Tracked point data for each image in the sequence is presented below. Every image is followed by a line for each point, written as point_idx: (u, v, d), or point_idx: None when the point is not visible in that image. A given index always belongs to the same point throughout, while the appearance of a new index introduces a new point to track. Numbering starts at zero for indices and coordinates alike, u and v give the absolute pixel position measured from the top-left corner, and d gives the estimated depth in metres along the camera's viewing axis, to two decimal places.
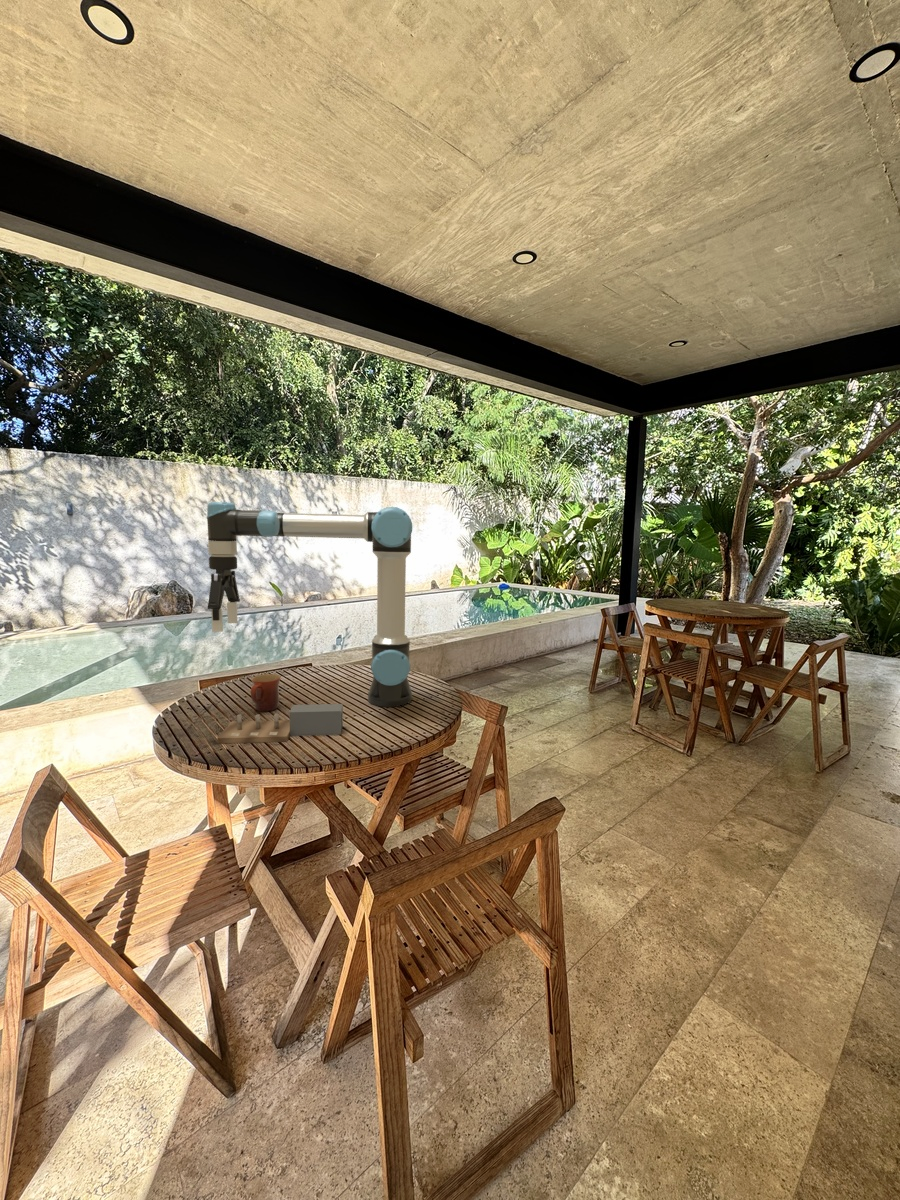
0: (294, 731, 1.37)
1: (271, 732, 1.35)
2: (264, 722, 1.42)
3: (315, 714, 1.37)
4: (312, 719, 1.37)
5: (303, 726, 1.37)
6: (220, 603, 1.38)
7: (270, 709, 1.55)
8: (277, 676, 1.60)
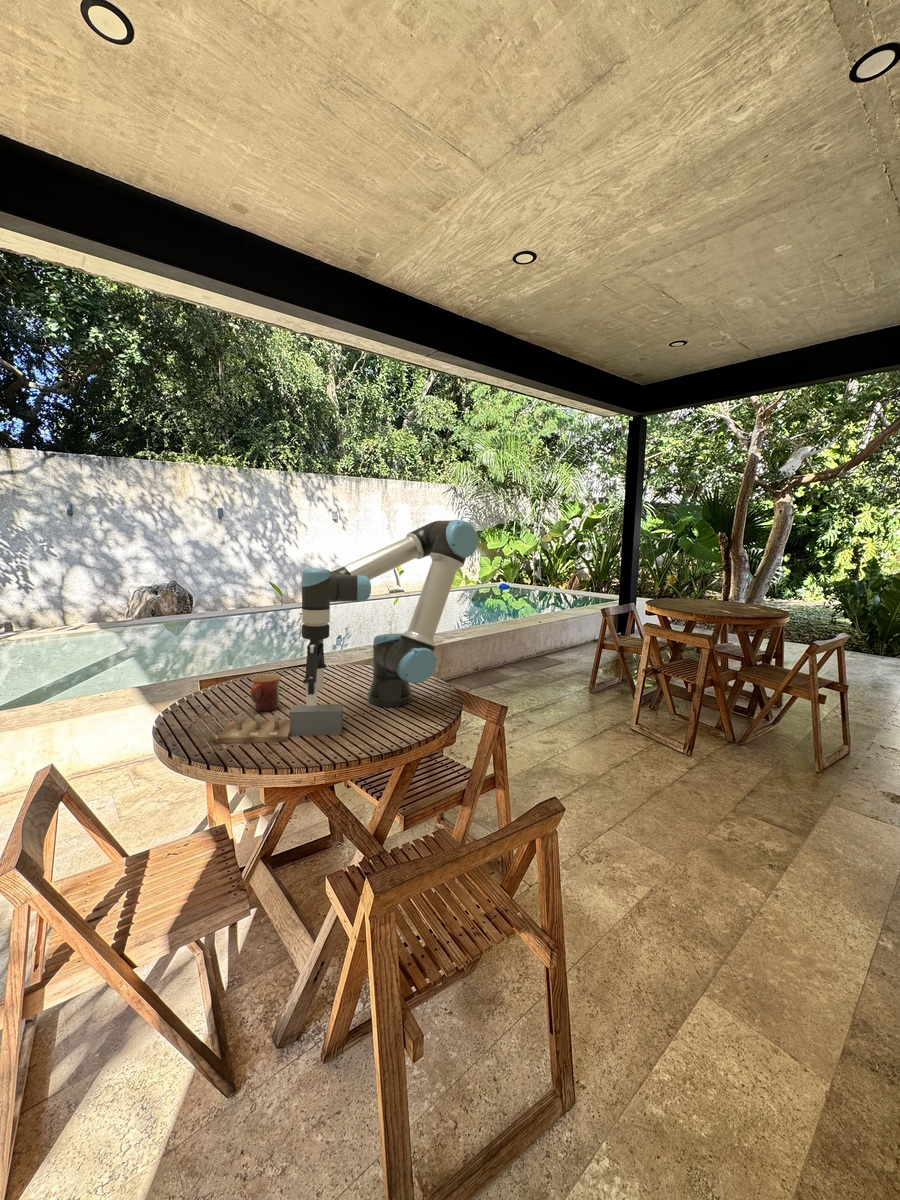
0: (294, 731, 1.37)
1: (271, 732, 1.35)
2: (264, 722, 1.42)
3: (315, 714, 1.37)
4: (312, 719, 1.37)
5: (303, 726, 1.37)
6: (316, 676, 1.31)
7: (270, 709, 1.55)
8: (277, 676, 1.60)
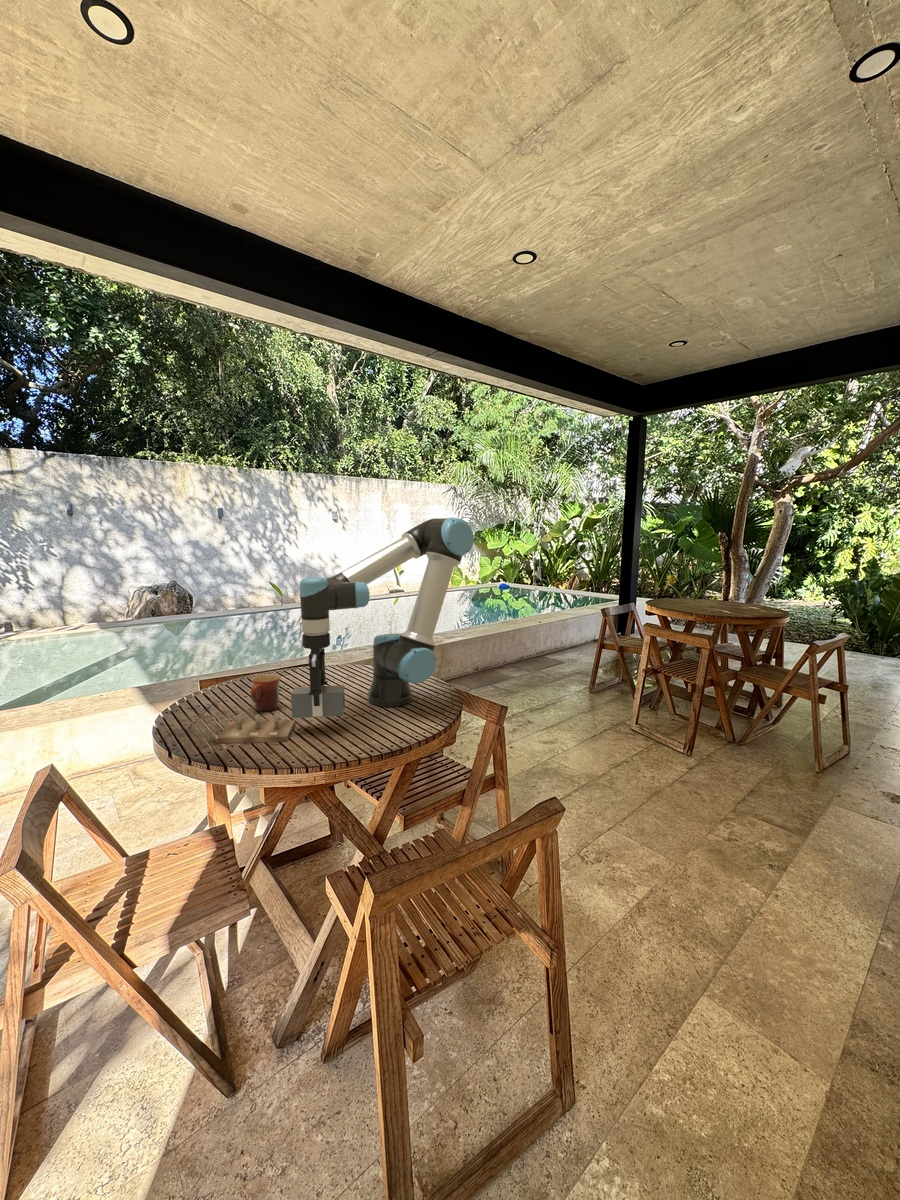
0: (296, 713, 1.37)
1: (271, 732, 1.35)
2: (264, 722, 1.42)
3: None
4: None
5: (305, 708, 1.37)
6: (320, 688, 1.35)
7: (270, 709, 1.55)
8: (277, 676, 1.60)
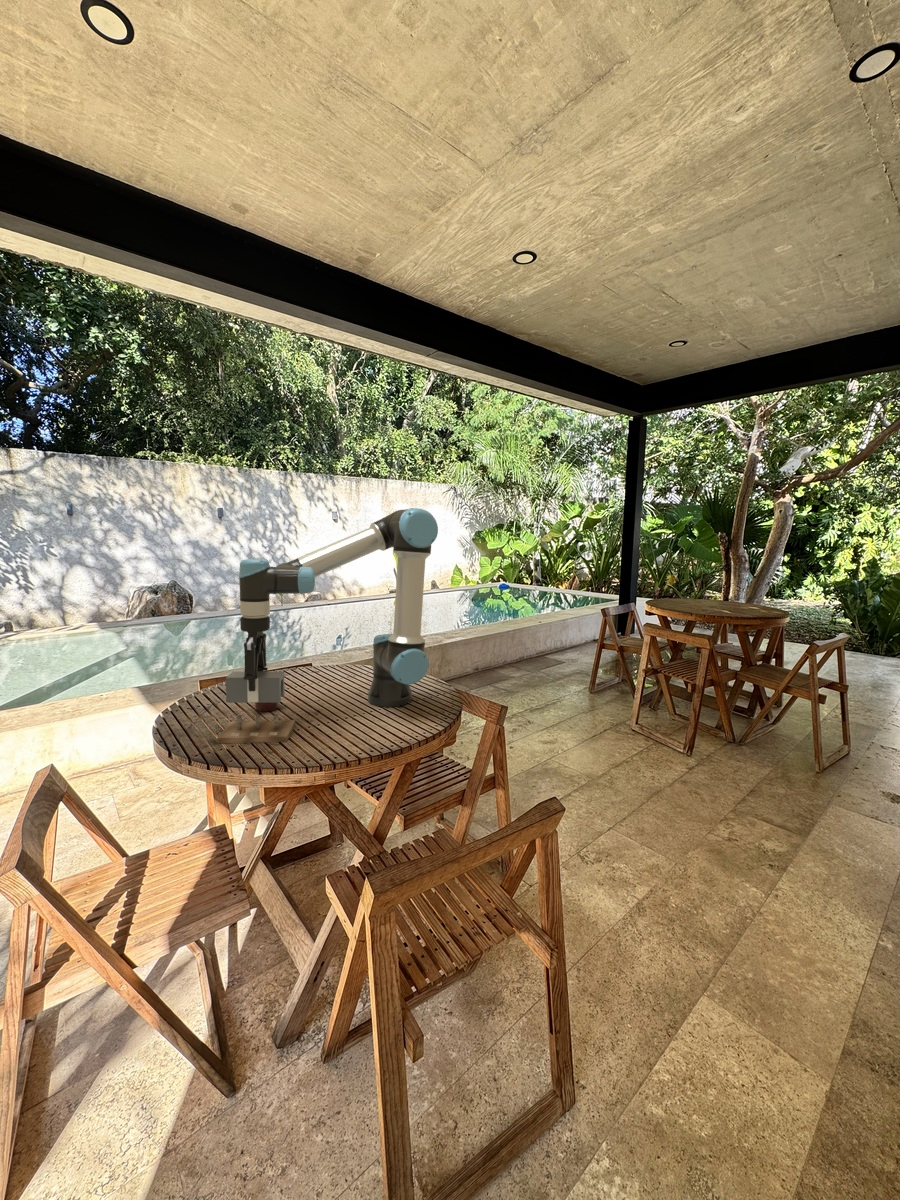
0: (231, 697, 1.33)
1: (271, 732, 1.35)
2: (264, 722, 1.42)
3: None
4: None
5: (240, 692, 1.33)
6: (256, 673, 1.32)
7: (270, 709, 1.55)
8: None
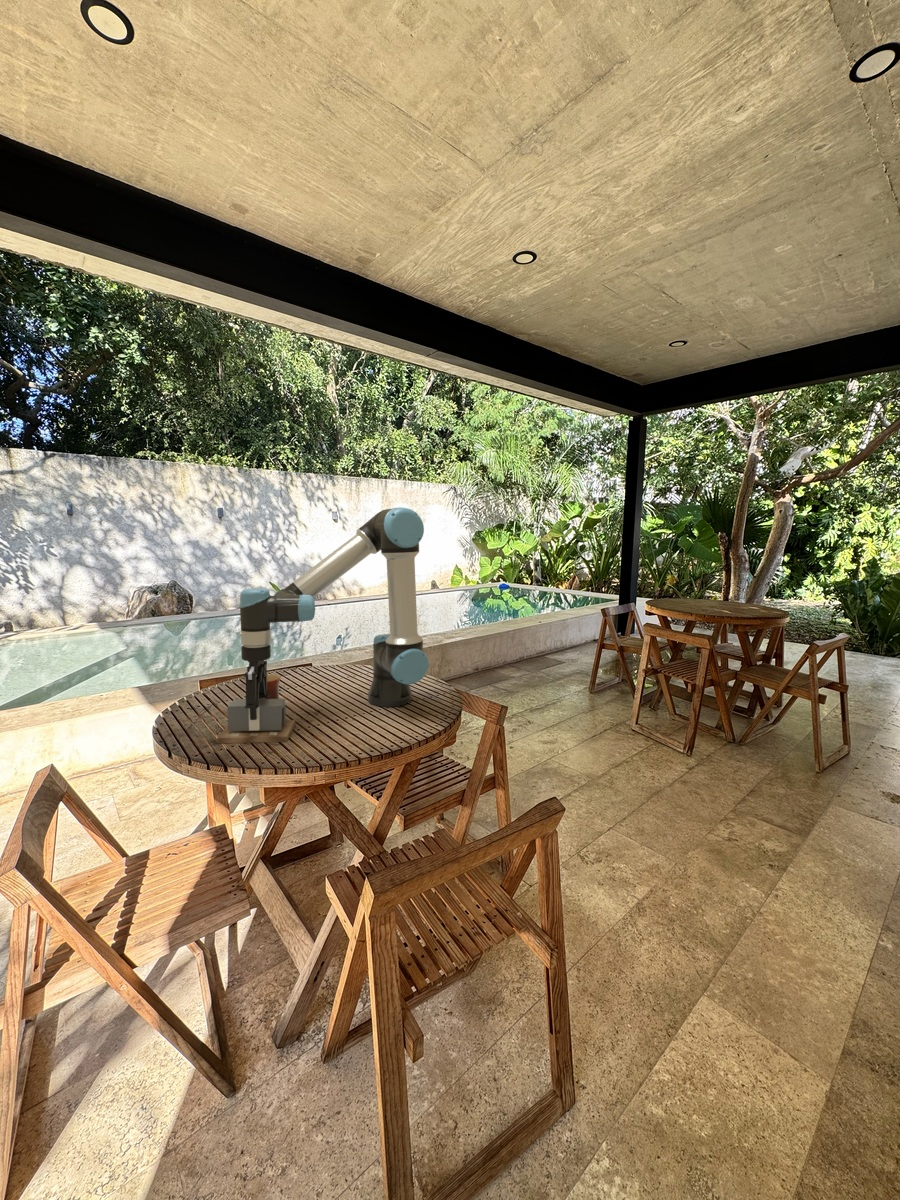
0: (232, 726, 1.34)
1: (271, 732, 1.35)
2: None
3: None
4: None
5: (241, 721, 1.34)
6: (257, 702, 1.33)
7: None
8: (277, 676, 1.60)
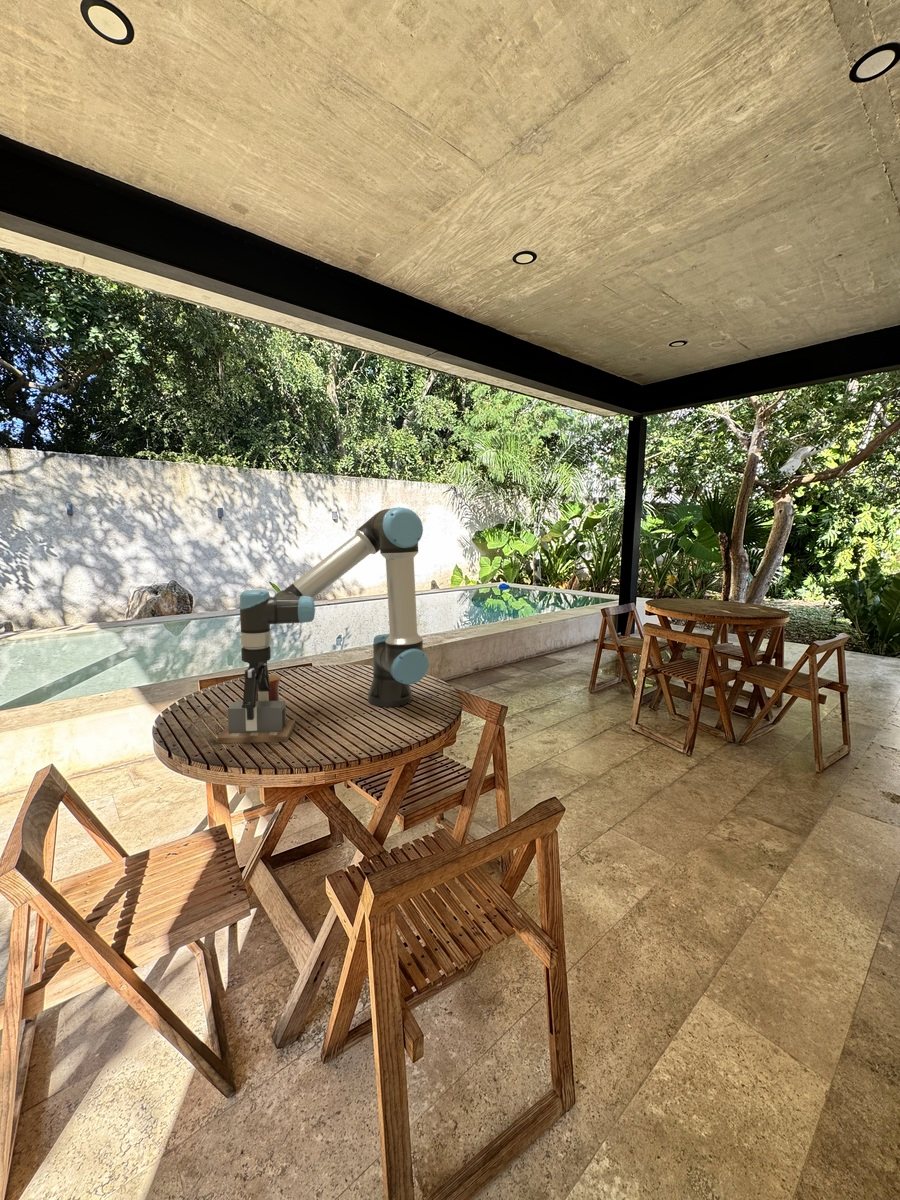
0: (233, 728, 1.34)
1: (271, 732, 1.35)
2: None
3: None
4: None
5: (242, 723, 1.34)
6: (254, 701, 1.30)
7: None
8: (277, 676, 1.60)
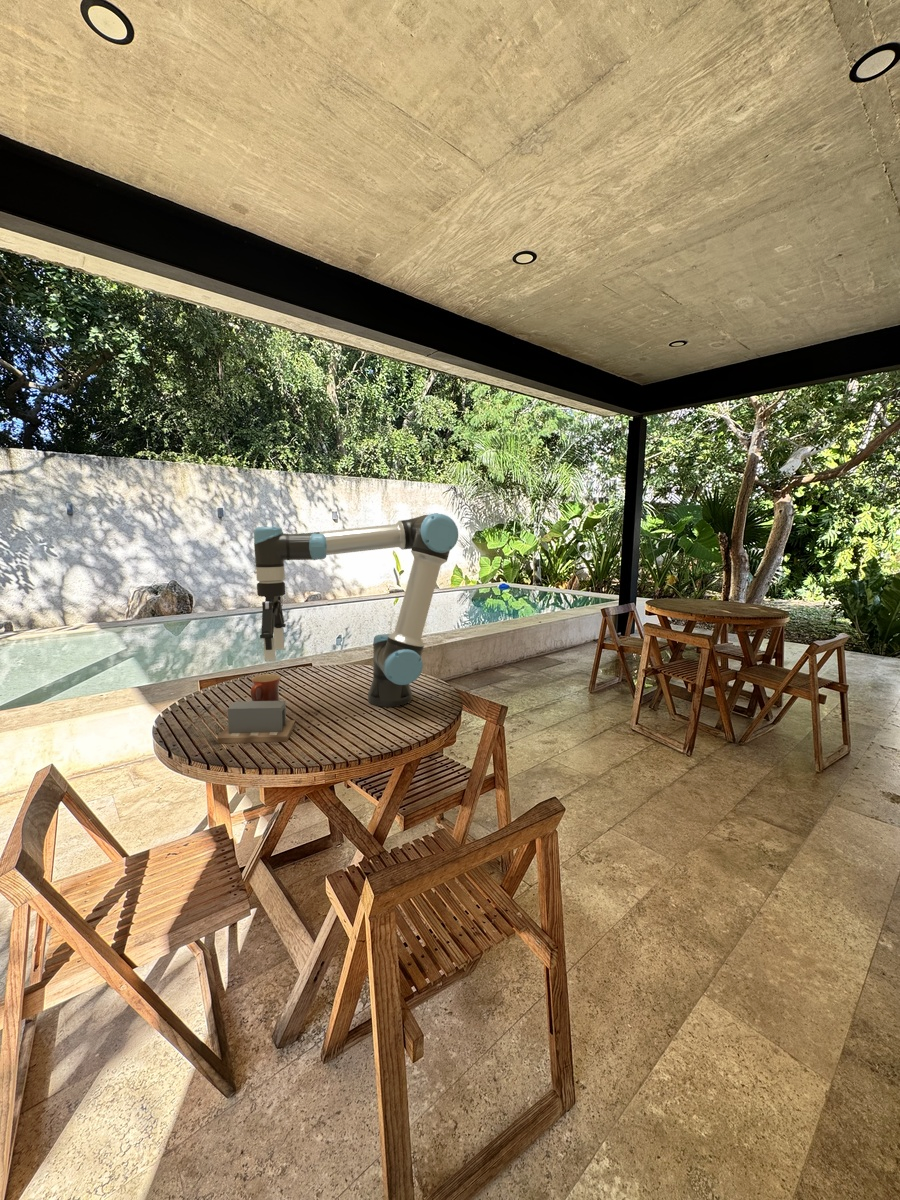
0: (233, 728, 1.34)
1: (271, 732, 1.35)
2: None
3: (254, 711, 1.34)
4: (251, 716, 1.34)
5: (242, 723, 1.34)
6: (272, 632, 1.34)
7: None
8: (277, 676, 1.60)
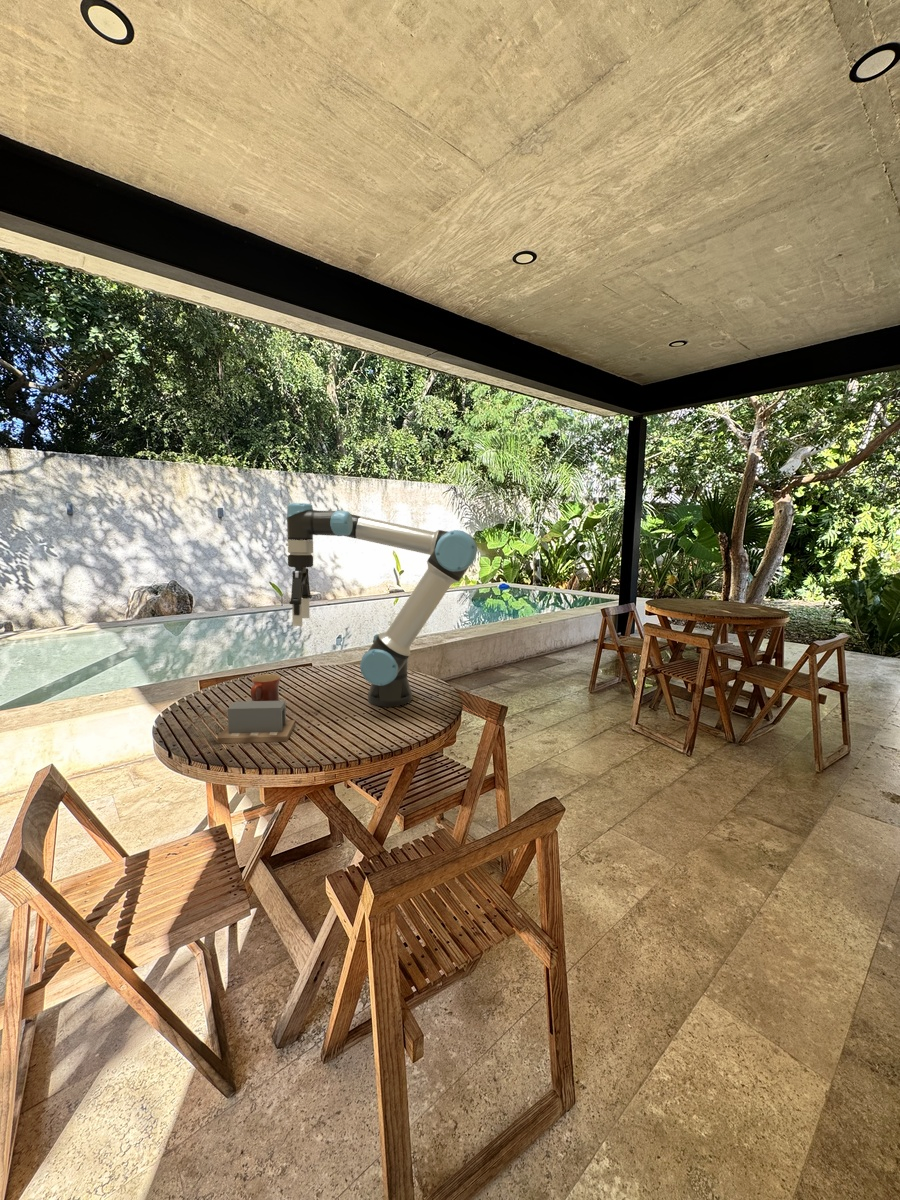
0: (233, 728, 1.34)
1: (271, 732, 1.35)
2: None
3: (254, 711, 1.34)
4: (251, 716, 1.34)
5: (242, 723, 1.34)
6: (300, 599, 1.46)
7: None
8: (277, 676, 1.60)
